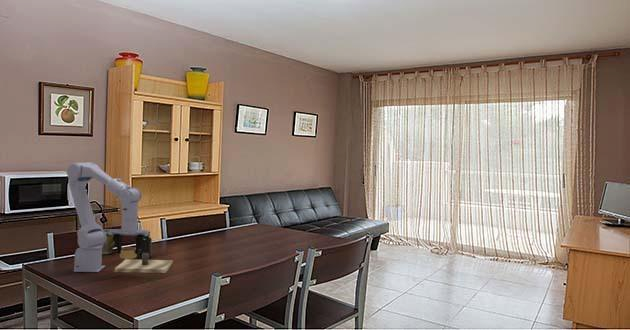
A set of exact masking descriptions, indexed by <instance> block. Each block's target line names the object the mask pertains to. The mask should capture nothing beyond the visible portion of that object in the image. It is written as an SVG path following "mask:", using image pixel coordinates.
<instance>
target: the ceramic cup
mask: <svg viewBox="0 0 630 330" xmlns="http://www.w3.org/2000/svg"><path fill="white" fill-rule="evenodd" d="M102 229H103V228H102ZM111 229H112V228H110V229H108V228H107V229H106V228H105V229H103V231H104V232H105V233H106V236H107V239H106V242H105V243H104V244H103V247H102V255H110V254H113V251H114V247H115V245H116V244H115V242H114V240H113V238H112V237H113V235H109V230H111Z"/></svg>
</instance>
